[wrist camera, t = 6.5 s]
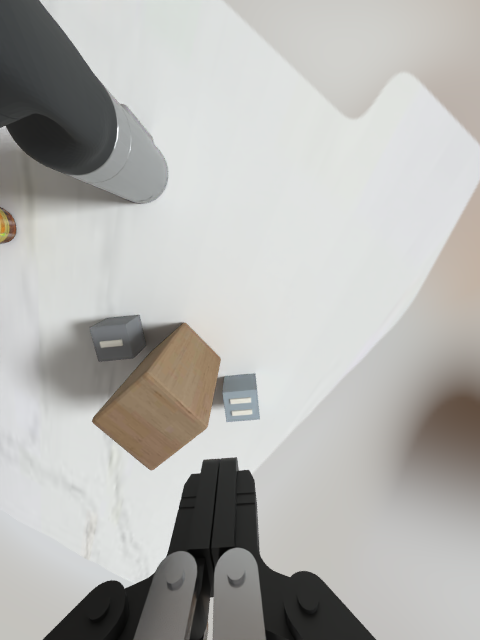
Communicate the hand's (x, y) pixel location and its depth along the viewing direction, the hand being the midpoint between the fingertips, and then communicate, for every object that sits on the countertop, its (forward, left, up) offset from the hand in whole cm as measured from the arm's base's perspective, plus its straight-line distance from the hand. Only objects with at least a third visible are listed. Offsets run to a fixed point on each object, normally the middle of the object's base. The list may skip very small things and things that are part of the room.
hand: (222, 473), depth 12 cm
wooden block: (+9, -11, -37) cm, 39 cm away
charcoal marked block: (+3, -21, -37) cm, 42 cm away
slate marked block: (+17, -1, -37) cm, 40 cm away
